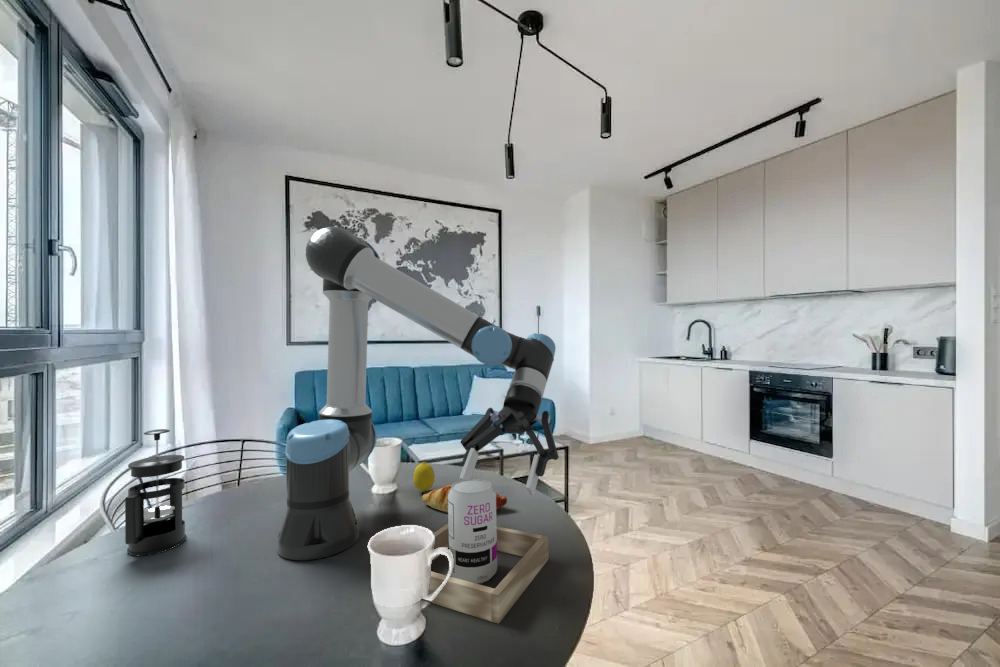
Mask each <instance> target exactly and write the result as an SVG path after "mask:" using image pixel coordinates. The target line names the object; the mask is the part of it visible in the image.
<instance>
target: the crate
mask: <svg viewBox="0 0 1000 667" xmlns="http://www.w3.org/2000/svg"><path fill="white" fill-rule="evenodd" d="M432 534H434V535H435V545H434V549H436V548H438V547H448V548H449V527H448V522H447V523H446V524H444V525H443V526H441V527H440V528H439V529H438V530H436V531H435V532H433V533H432ZM497 552H501V553H506V554H510V555H515V556H519V557H521V558H520V559H519V561H518V562H517V563H516V564H515V565H514V566H513V567H512V569H510V570H509V572H508V573H507V574H506V576H505V577H504V578H503V579H502V580H501V581H500V582H499V583H498V585H497V586H496V587H495V588H493V587H490V586H486V585H483V584H476V583H472V582H468V581H465V580H461V579H457V578H454V577H452V576H450V578H449V579H448V581H447V583H446V585H445V586H444V587H443V589H442V590H441V591H440V593H439V594H438V595H437V597H436V598H435V599H434V601H433V602H432V604H435V605H438V606H441V607H443V608H447V609H450V610H452V611H455V612H456V611H457V612H460V613H463V614H466V615H469V616H473V617H476V618H479V619H482V620H485V621H489V622H491V623H494V624H498V625H499V624H500V623H501V622H502V621H503V620H504V618H505V616H506V615H507V614H508V613H509V611H510V610H511V609H512V607H513V606H514V605H515V604H516V603H517V601H518V600H519V599H520V597H521V596H522V594H523V593H524V592H525V591H526V589H527V588H528V587H529V585H530V584H531V583H532V581H533V580H534V578H536V576H537V575H538V573H539V572H540V571H541V570H542V569H543V567H544V565H545V564H546V563H547V562H548V561H549V559H550V558H549V556H550V554H549V536H546V535H541V534H536V533H532V532H527V531H523V530H522V531H521V530H516V529H512V528H507V527H503V526H502V527H501V526H497ZM440 556H441V555H438V556H436V557H435V558H434V559H433V561H435V560H436V559H437V558H439V557H440ZM430 571H431V582H430V589H429V594H431V593H433V592H434V591H435V590H436V589H437V588H438V587H439V586H440V585H441V584H442V582H443V581H444V579H445V578H446V576H447V575H445V574H441V573H438V572H435V571H432V570H430Z"/></svg>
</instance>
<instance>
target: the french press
mask: <svg viewBox="0 0 1000 667" xmlns="http://www.w3.org/2000/svg"><path fill="white" fill-rule="evenodd" d="M170 431H171V430H170V429H168V428H166V429H165V428H161V429H160V428H159V429H158V428H157V429H151V430H148V431H145V432H143V435H145V436H148V435H149V436H150V435H151V436H153V439H154V441H155V456H151V457H146V458H141V459H138V460H135V461H131V462H129V464H127V467H128V468H129V469H130V476H131V477H132V478H138V479H139V478H142V479H143V478H152V477H155V479H154V480H149V481H145V482H144V481H143V482H141V483H138V484H135V485H133V486H131V487H129V488H128V490H127V493H128V494H127V496H126V497H125V499H124V500H125V501H124V502H125V503H124V509H125V510H124V512H125V514H124V515H125V516H124V517H125V518H124V522H125V527H124V531H125V532H124V534H125V535H124V536H125V537H124V538H125V540H124V541H125V545H128V546H127V549H126V553H127V552H128V553H129V554H130V555H129V554H128V553H127V554H128V555H129V556H132V555H146V556H150V555H149V554H152V555H155V553H157V554H159V553H158V552H161V553H163V552H162V551H164V552H166V551H165V550H167V551H169V550H168V549H170V548H172V547H174V546H176V545H178V544H180V543H181V542H183V541H184V540H185V539H187V534H186V521H185V520H183V509H184V506H183V490H184V489H185V487H186V486H185V485H186V484H185V483H186V481H185V479H184V478H180V477H167V478H160V479H159V477H160V476H164V475H169V474H172V473H176V472H178V471H180V470H181V469H182V468H183V461H184V460H185V455H182V454H170V455H169V454H166V455H159V441H160V440H161V434H166V433H169V432H170ZM168 485H169V487H167V488H163V489H160V488H159V486H160V487H161V486H168ZM153 487H155V489H156V490H151V491H144V492H143V491H141V490H145V489H149V488H150V489H151V488H153ZM166 496H169V505H167V504H166V505H160V504H159V502H160V500H159V498H162V497H166ZM150 499H151V500H152V499H155V500H156V501H155V502H156V503H155V506H154V507H151V508H150V507H149V508H147V509H145V508H144V507H145V506H144V505H145V504H144V503H145V500H150ZM185 541H186V540H185ZM185 541H184V542H185ZM184 542H183V543H184ZM180 545H181V544H180ZM178 546H179V545H178ZM174 548H175V547H174ZM172 549H173V548H172ZM170 550H171V549H170Z"/></svg>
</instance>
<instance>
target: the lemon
mask: <svg viewBox="0 0 1000 667" xmlns="http://www.w3.org/2000/svg"><path fill="white" fill-rule="evenodd" d="M412 480H413V484H414V487H415V488H416V489H417V490H419V491H421V492H422V491H423V492H422V493H426V492H427V491H428V490H430V489H431V488H432V487H433V485H434V483H435V471H434V469H433V466H432V465H431V464H430V463H426V462H425V461H423V462H421V463H420V464H418V465H417V466H416V467H415V469H414V472H413V478H412ZM425 491H426V492H425Z"/></svg>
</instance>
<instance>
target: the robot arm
mask: <svg viewBox="0 0 1000 667" xmlns="http://www.w3.org/2000/svg"><path fill="white" fill-rule="evenodd" d="M375 249H376V248H374V247H373V246H372V244H370V243H369V242H367V241H366V240H364V239H361V238H359V237H358V236H356V235H355V234H354V233H352V232H351V231H349V230H348V229H345V228H344V227H339V226H326V227H322V228H320V229H318V230H317V231H314V233H313V234H312V235H311V236H310V238H309V239H308V240H307V244H306V247H305V258H306V262H307V265H308V266H309V268H310V270H312V272H313V273H314V274H315V275H316V276H318V278H319V277H320V278H321V279H323V280H322V294H323V295H324V296H325V297H326V298H327V299H328V300H329V301H328V302H329V308H328V309H329V310H328V311H329V315H328V339H327V340H328V344H327V345H328V346H327V349H328V350H327V378H326V379H327V380H326V382H327V383H326V404H325V405H324V406H323V407H322V408H321V409H320V410H319V411H318V420H313V421H310V422H305V423H303V424H299V425H297V426H296V427H295V426H294V428H293V429H291V430H290V431H289V432H288V434H287V437H286V445H285V449H284V455H285V471H286V472H285V474H286V476H285V477H286V478H285V479H286V480H285V481H286V482H285V484H286V510H285V512H284V513H285V514H284V516H283V519H282V522H281V523H282V524H281V527H280V531H279V533H278V536H277V539H276V552H277V554H278V555H279V556H280V557H282V558H284V559H285V560H286V559H287V560H292V561H311V560H312V561H313V560H317V559H322V558H323V559H324V558H327V557H330V556H333V555H336V554H339V553H341V552H344V551H345V550H347V549H349V548H350V547H352V546H353V545H355V543H357V541H358V539H359V537H360V528H359V527H360V526H359V521H358V519H357V518H356V513H355V511H354V508H353V505H352V502H351V499H350V472H352V471H353V470H354V469H355V468H357V467H358V466H360V465H361V464H363V463H364V462H365V461H367V459H368V458H369V457H371V454H372V452H373V451H374V449H375V447H376V444H377V438H378V435H377V434H378V433H377V428H376V426H375V425H374V423H373V422H372V415H373V414H372V413H373V412H372V410H373V409H372V408H370V407H369V406H368V404H366V399H367V398H366V393H367V391H366V389H367V365H368V364H367V361H368V356H367V355H368V329H369V328H368V326H369V324H368V323H369V303H370V301H372V300H373V299H374V300H375V301H377V302H379V303H381V304H382V305H384V306H386V307H388V308H389V309H390V310H393V311H395V312H396V313H398V314H400V315H402V316H403V317H404V318H407V319H409V320H410V321H411V322H413V323H416V324H417V325H418V326H421V327H422V328H424V329H426V330H428V331H430V332H432V333H433V334H435V335H437V336H438V337H439V338H442V339H443V340H446V341H447V342H449V343H451V344H453V345H455V346H456V347H457V348H460V350H463V351H464V352H466V353H467V354H469V355H471V356H473V357H474V358H475V359H476V360H477V361H478V362H480V363H482V364H484V365H486V366H493V367H494V366H498V365H502V366H505V367H507V368H509V369H513V370H514V372H513V375H512V378H511V381H510V384H509V386H508V389H507V392H506V395H505V397H504V401H503V404H502V408H501V409H500V411H498V410H495V409H493V407H489V408H487V410H486V411H485V414H484V416H482V418H481V419H480V420H479V421H478V422H477V423H476V424H475V425H474V426H473V427H471V429H470V430H469V432H467V433H466V434H465V435H464V436H463V438H462V439H461V440H460V444H461V446H462V447H463V448H464V450H465V452H464V456H463V458H462V465H463V467H462V470H461V473H460V476H459V481H461V480H467V479H472V475H473V473H474V470H475V467H476V464H477V462H478V459H479V457H480V455H479V453H478V452H479V451H480V450H482V449H483V448H484V447H486V446H488V444H490V443H491V442H492V441H494V440H496V439H497V438H498V437H499V436H503V435H504V434H506V433H507V434H518V435H522V434H524V433H526V434H527V436H528V438H529V439H530V440H531V442H532V444H533V446H534V448H535V449H536V451H537V453H538V454H534V456H533V459H532V463H531V467H530V470H529V473H528V476H527V481H526V485H525V489H526V490H527V492H528V494H529V495H531V496H535V491H536V488H537V484H538V481H539V477H542V478H543V476H544V475H545V471H546V467H547V464H548V462H549V461H551V460H554V461H557V460H558V459H559V458H560V457H559V453H558V449H557V446H556V442H555V438H554V435H553V433H552V428H551V425H552V424H551V423H552V418H551V416H550V414H549V411H547V410H544V411H542V413H539V412H540V407H541V405H542V399H543V396H544V394H545V391H546V390H545V389H546V386H547V382H548V380H549V377H550V373H551V370H552V366H553V363H554V360H555V355H556V354H555V353H556V348H557V347H556V343H555V341H554V340H553V339H552V338H551V337H550V336H549V335H547V334H544V333H536V332H534V333H532V334H529V335H528V336H527V337H525V338H524V337H522V336H518V335H516V334H514V333H511V332H509V331H506V330H505V329H503V328H502V327H500V326H497V325H495V324H493V323H491V322H490V321H488V320H486V319H485V318H483V317H481V316H480V315H478V314H476V313H474V312H473V311H471V310H469V309H467V308H466V307H464V306H463V305H460V304H458V303H457V302H455V301H453V300H451V299H450V298H448V297H446V296H444V295H443V294H441V293H439V292H438V291H436V290H434V289H433V288H430V287H429V286H427V285H426V284H424V283H422V282H420V281H418V280H417V279H415V278H413V277H412V276H409V275H408V274H406V273H405V272H403V271H401V270H399V269H397V268H395V267H394V266H392V265H391V264H388V263H387V262H385V261H384V260H382V259H381V257H380V255H379V253H378V252H377V251H376V250H375ZM537 422H539V424H540V425H541V426H542V429H543V434H544V437H545V441H546V444H547V448H548V449H546V450H545V448H544V446H543V445H542V443H541V442H540V439H539V438H538V437H537V435H536V433H535V431H534V430H533V426H534V425H535V424H536V423H537ZM501 426H502V427H501Z"/></svg>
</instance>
